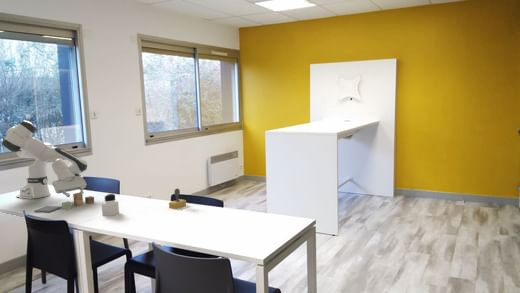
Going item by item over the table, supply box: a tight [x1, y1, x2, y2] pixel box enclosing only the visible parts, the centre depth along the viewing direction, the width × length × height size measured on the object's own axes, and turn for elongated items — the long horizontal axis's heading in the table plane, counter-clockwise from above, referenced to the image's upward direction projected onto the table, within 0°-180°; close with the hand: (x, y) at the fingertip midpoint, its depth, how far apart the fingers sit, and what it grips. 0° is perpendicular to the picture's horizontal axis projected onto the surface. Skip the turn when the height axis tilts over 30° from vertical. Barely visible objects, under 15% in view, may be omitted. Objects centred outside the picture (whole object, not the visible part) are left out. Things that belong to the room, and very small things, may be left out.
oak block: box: [72, 192, 84, 207], centre depth 261 cm, size 4×4×8 cm
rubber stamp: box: [168, 188, 187, 210], centre depth 253 cm, size 10×6×12 cm, turn 148°
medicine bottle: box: [101, 193, 120, 217], centre depth 239 cm, size 7×7×12 cm
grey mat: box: [33, 205, 62, 214], centre depth 252 cm, size 11×11×1 cm
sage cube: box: [61, 201, 72, 210], centre depth 255 cm, size 4×4×4 cm
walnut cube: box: [84, 195, 95, 205], centre depth 268 cm, size 4×4×4 cm
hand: (75, 194), depth 261 cm, fingers open, 8 cm apart
